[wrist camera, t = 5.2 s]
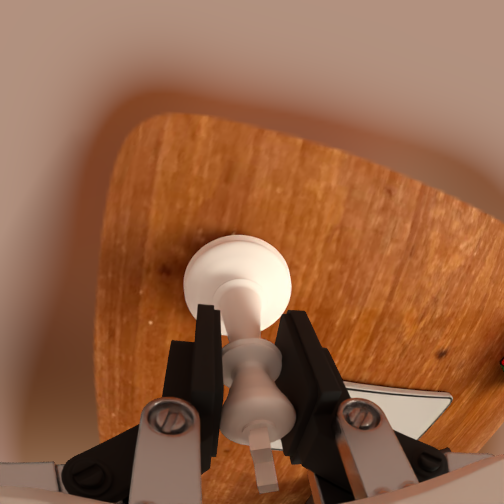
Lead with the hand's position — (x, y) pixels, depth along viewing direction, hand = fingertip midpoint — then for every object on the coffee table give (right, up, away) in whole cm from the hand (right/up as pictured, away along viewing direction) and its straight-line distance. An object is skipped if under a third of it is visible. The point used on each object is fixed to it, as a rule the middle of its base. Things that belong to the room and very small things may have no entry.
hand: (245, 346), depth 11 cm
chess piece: (-1, +2, +4) cm, 5 cm away
